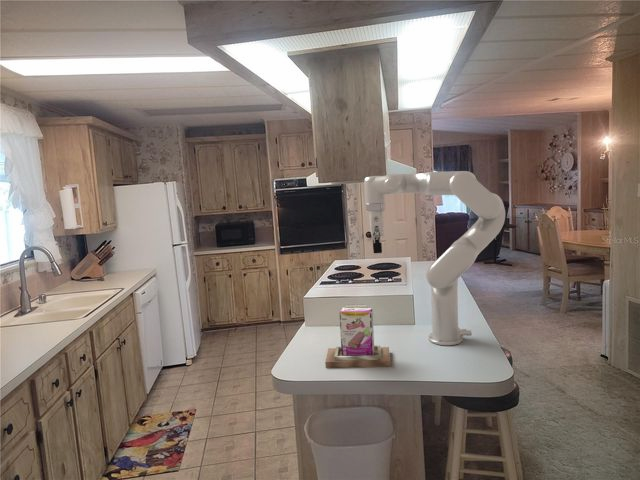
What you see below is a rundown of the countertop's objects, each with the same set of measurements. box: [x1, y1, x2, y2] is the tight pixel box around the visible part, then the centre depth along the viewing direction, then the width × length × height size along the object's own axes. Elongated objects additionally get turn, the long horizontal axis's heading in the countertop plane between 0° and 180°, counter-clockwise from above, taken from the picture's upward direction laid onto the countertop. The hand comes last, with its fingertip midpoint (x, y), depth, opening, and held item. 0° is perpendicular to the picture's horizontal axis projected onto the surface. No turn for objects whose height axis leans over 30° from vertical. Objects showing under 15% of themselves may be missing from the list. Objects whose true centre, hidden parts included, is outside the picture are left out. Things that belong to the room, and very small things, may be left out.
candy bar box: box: [339, 307, 375, 356], centre depth 150 cm, size 11×5×16 cm, turn 77°
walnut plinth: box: [324, 344, 392, 369], centre depth 152 cm, size 22×12×3 cm, turn 84°
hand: (377, 250), depth 171 cm, fingers open, 9 cm apart
